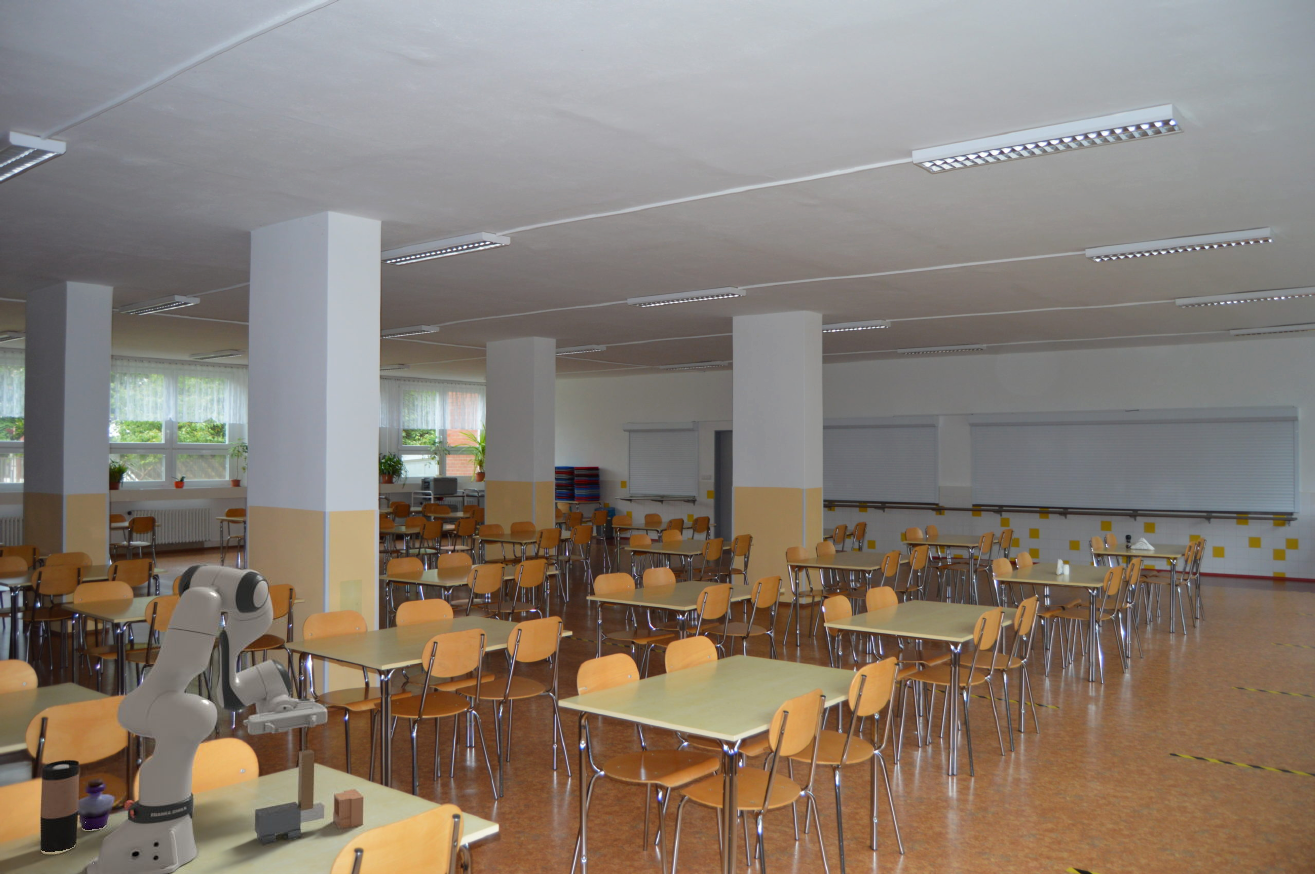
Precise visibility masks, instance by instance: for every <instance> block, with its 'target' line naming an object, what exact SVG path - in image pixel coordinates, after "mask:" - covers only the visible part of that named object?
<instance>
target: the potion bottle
mask: <svg viewBox="0 0 1315 874" xmlns="http://www.w3.org/2000/svg"><path fill="white" fill-rule="evenodd" d="M106 785H107V784H106V783H105V782H104V780H103V778H93V779H90V780H88V781H87V785H86V786H85V788H84V792H85V793H86V794H88V796H87V797H84V798H83V797H82V798H80V799H79V800H78V819H79V822H80V825H81V829H82V828H83V829H85V830H92V829H99V828H103V827H104V826H105V825H107V826H108V820H109V817H110V814H111V811H112V809H113V806H114V802H115V796H113V795H111V794H108V793H107V794H103V792H104V791H105V790H106ZM85 822H86V823H85Z"/></svg>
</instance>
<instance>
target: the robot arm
mask: <svg viewBox="0 0 1315 874" xmlns="http://www.w3.org/2000/svg"><path fill="white" fill-rule="evenodd" d="M177 591H178V596H179V599H178V601H177V602H176V605H175V607H174V609H173V611H172V614H171V617H170V620H169V622H168V624H167V625H168V626H167V628H166V632H165V634H164V637H163V639H162V640H163V641H162V643H161V647H160V650H159V652H158V655H157V658H156V660H155V662H154V664H153V665H152V668H151V669H150V671H149V672H148V674H147V675H146V677H145V678H144V679H143V681H142V682H140V684H139V685H138V686H137V687H136V688H135V689H134V690H132V691H130V692H129V693H127V694H126V695H125V696H124V697H123V698H122V699H121V701H120V703H119V705H118V708H117V711H116V712H117V713H116V714H117V715H116V718H117V722H118V724H119V725H120V727H122V729H124V730H126V731H128V732H130V733H131V734H134V735H135V736H140V737H147V738H151V739H154V740H155V746H154V749H153V753H152V755H151V756H150V757H149V758H148V759H147V760H145V761H144V762H143V763H142V764H141V766H140V767H139V771H138V795H137V797H138V798H137V800H136V801H135V802H134V801H133V800H131V799H129V800H126V802H125V803H124V805H123V806H124V809H125V811H126V812H127V819H126V820H125V821H124V822H123V823H121V824H120V825H119V826H117V827H116V828H115V829H114V830H112V831H111V832H110V833H109V834H108V835H106V836H105V838H104V839H103V840H102V842H101V845H100V848H99V851H98V856H96V857H93V858H92V859H91V860H90V861H89V862H88V864H87V866H86V871H87V873H86V874H171V873H174V872H175V871H176V870H177V869H178V868H179V867H181V866H184V865H185V864H187V863H189V862H190V861H192V860H193V859H195V858H196V857H197V855H198V853H199V852H198V847H197V846H196V840H195V836H194V829H193V817H194V810H195V807H194V805H195V798H194V794H193V792H192V788H193V787H192V785H193V781H192V780H193V769H194V768H193V767H194V760H195V757H196V754H197V751H198V748H199V746H200V744H201V743H203V741H204V740H205V739H207V738H208V737H209V735H211V734H212V733H213V731H214V729H215V727H216V724H217V722H218V710H217V707H216V704H214V702H212V701H211V700H209V699H207V698H205V697H203V696H201V695H198V694H195V693H194V694H193V693H189V692H185V690H186V689H187V687H188V685H189V684H190V683H191V682H192V680H193V679H194V678H195V677H196V676H198V675H200V674H202V673H203V672H205V671H206V669H207V668H208V666H209V663H210V660H211V654H212V652H213V648H214V646H215V641H216V639H217V635H218V640H217V684H216V698H217V701H218V704H219V705H220V706H221V709H223V710H225V711H228V712H233V713H237V712H239V711H241V710H243V709H245V708H247V707H248V706H251V705H253V704H255V709H256V714H252V715H251V714H250V715H249V716H248V718H247V719H243V721H242V724H243V725H244V726H246V727H247V732H248V734H249V735H262V734H267V733H271V734H272V735H273V734H278V733H285V732H287V731H289V730H291V729H297V728H298V729H299V728H303V727H309V728H314V727H316V725H322V724H326V723H327V721H328V709H327V708H326V707H325V706H324V705H323V704H321V703H318V702H316V699H314V698H293V697H290V694H291V691H292V688H293V686H292V685H293V684H292V680H291V677H290V674H289V671H288V670H287V668H286V667H285V666H284V665H283V663H282V662H280V661H278V660H275V659H272V658H271V659H269V660H268V659H267V660H266V661H263V662H261V663H258V664H255V665H254V666H251V667H248V668H247V669H244V670H241V671H238V672H237V658H238V656H239V655H240V653H241V652H242V651H244V649H245V648H247V647H248V646H249V645H250V644H252V643H253V642H255V641H257V640H258V639H260V638H261V637H262V636H263V635H264V634H265V633H266V632H267V631H268V630H269V628H270V627H271V625H272V623H273V620H274V611H273V610H274V608H273V602H272V598H271V595H270V585H269V582H268V580H267V579H266V577H265V576H264V575H263V574H261V573H260V572H259V571H257V570H254V569H250V568H249V569H248V568H247V569H239V568H234V567H230V566H222V565H207V564H196V565H191V566H189V567H188V568H187V569H185V571H184V572H183V573H182V574H181V576H180V578H179V581H178V585H177ZM222 612H226V613H227V615H228V616H227V621H226V624H225V626H224V628H223V629H222V630H220V632H219V634H218V630H219V626H220V622H221V616H222ZM93 863H94V864H93Z"/></svg>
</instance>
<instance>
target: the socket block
mask: <svg viewBox="0 0 1315 874" xmlns="http://www.w3.org/2000/svg"><path fill="white" fill-rule="evenodd" d="M332 815H333V816H332V817H333V818H332V821H333V823H334V824H335V825H336V826H337V828H339V829H340V830H341V829H346V828H354V827H358V826H362V825H363V826H364V796H363V795H362V794H361V793H360V792H359V791H358V790H357V789H356V788H353V789H349V790H348V789H347V790H344V791H343V792H339V793H334V794H333V813H332Z"/></svg>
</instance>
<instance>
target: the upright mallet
mask: <svg viewBox="0 0 1315 874" xmlns="http://www.w3.org/2000/svg"><path fill="white" fill-rule="evenodd" d="M297 784H298V785H297V786H298V787H297V789H298V790H297V804H298V805H299V806H300V808H301V824H303V823H307V822H308V823H309V822H311V821H316V820H321V819H325V805H324V804H323V803H322V802H318V803H314V798H315V797H314V795H315V794H314V793H315V791H314V789H315V751H314V750H312V749H307V750H301V751H300V750H299V751H298V783H297Z"/></svg>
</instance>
